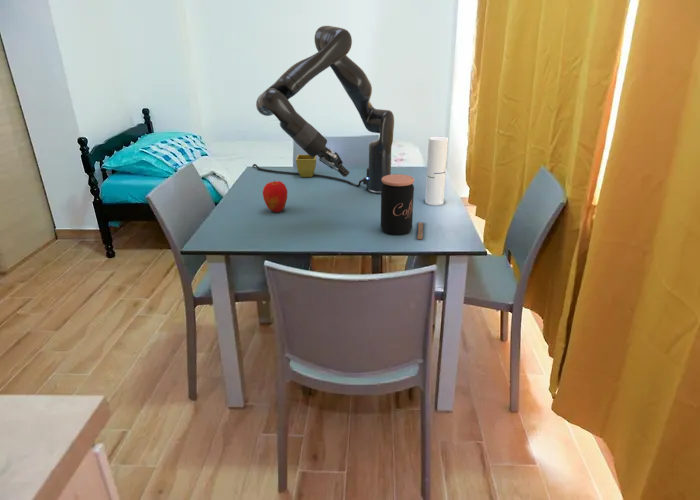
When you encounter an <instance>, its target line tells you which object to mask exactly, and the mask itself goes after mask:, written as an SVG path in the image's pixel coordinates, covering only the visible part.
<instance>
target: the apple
mask: <svg viewBox="0 0 700 500" xmlns="http://www.w3.org/2000/svg"><path fill="white" fill-rule="evenodd" d="M273 180H274V179H273ZM262 196H263V197H262V198H263V201H264V203H265V205H266V207H267V209H268V210H269V211H271V212H273V213H279V212H282V211H283V209H284V208H285V207H286V204H287V200H288V189H287V186H286V184H284V183H283V182H282V181H279V180H278V181H277V180H274V181H270V182H268V183H265V185H264V187H263V190H262Z"/></svg>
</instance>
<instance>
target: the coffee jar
mask: <svg viewBox="0 0 700 500" xmlns="http://www.w3.org/2000/svg"><path fill="white" fill-rule="evenodd" d="M382 183H383V184H382V186H381V193H380V228H381V230H382V232H383V233H385V234H387V235H392V236H404V235H407V234H409V233H410V232H411V230H412V229H413V220H414V219H413V214H414V197H415V195H414V194H415V191H414V190H415V186H414V183H415V178H414V177H413V176H411V175H408V174H402V173H401V174H399V173H397V174H396V173H395V174H393V173H391V175H387V176H384V177H382Z"/></svg>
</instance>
